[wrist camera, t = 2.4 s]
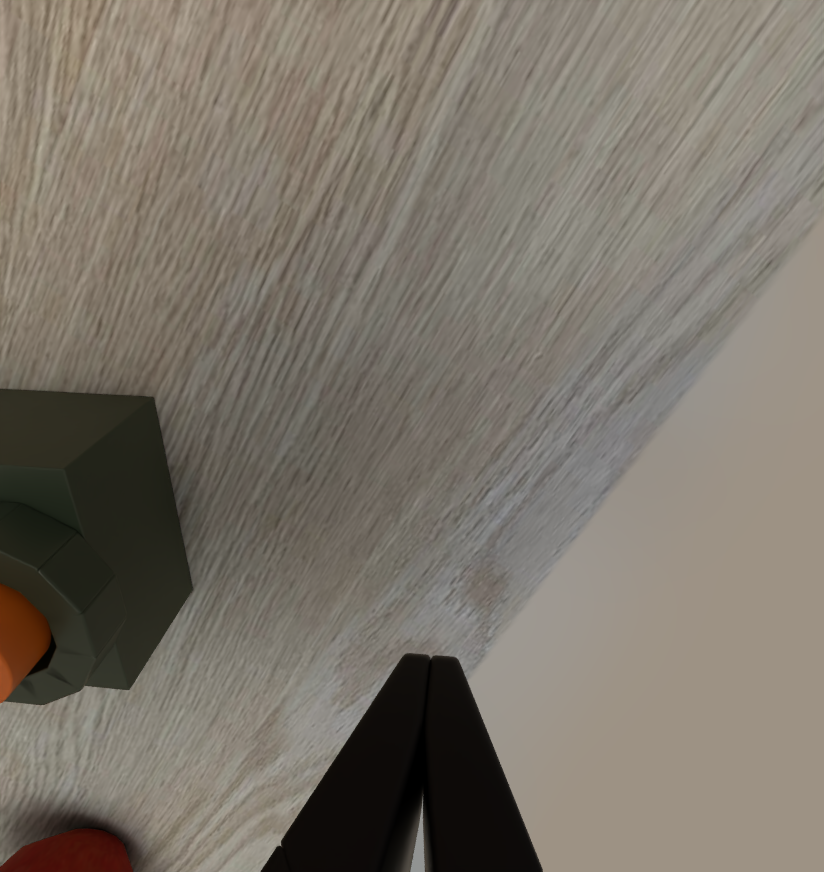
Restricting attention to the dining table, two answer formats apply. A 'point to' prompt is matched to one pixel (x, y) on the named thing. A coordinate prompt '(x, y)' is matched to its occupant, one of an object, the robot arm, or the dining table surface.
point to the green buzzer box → (89, 535)
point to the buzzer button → (19, 639)
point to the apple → (72, 854)
